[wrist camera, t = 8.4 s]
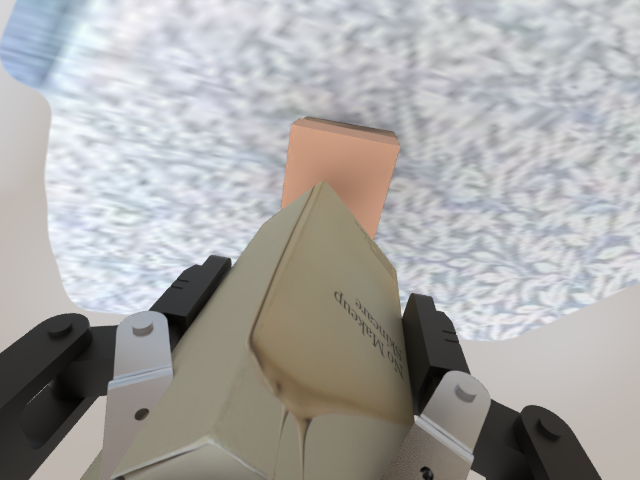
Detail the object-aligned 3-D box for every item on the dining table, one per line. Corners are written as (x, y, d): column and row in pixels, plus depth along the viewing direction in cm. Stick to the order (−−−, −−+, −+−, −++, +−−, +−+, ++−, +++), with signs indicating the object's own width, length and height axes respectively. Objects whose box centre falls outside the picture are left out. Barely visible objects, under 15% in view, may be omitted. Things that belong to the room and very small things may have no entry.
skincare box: (397, 269, 17) (462, 626, 6) (330, 307, 18) (284, 640, 8) (321, 172, 15) (213, 440, 4) (253, 224, 16) (49, 514, 6)
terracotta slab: (396, 137, 26) (400, 146, 23) (371, 225, 30) (372, 242, 27) (299, 118, 27) (291, 124, 23) (287, 207, 30) (278, 223, 27)
